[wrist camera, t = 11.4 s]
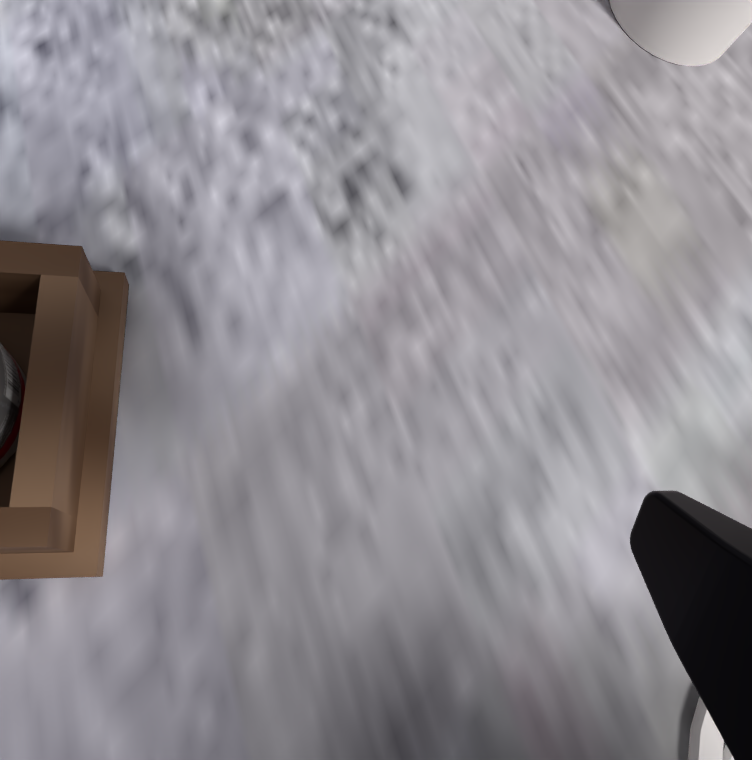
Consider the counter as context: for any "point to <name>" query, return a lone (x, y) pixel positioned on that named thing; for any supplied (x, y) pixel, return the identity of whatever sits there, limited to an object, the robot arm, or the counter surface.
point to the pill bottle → (10, 404)
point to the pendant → (706, 737)
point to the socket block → (60, 408)
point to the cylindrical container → (684, 27)
